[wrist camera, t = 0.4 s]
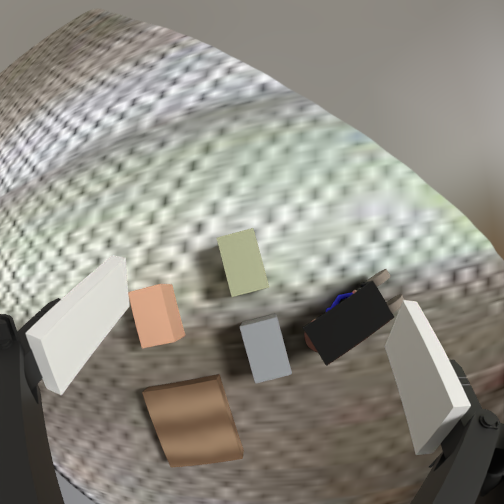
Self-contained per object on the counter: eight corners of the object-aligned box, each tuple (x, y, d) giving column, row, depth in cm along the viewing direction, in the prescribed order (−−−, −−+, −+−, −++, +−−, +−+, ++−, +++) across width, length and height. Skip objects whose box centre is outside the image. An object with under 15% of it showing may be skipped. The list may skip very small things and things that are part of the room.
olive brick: (268, 287, 47) (269, 287, 41) (235, 295, 47) (231, 297, 41) (254, 235, 48) (253, 228, 42) (222, 244, 48) (216, 237, 42)
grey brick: (288, 363, 46) (292, 374, 40) (256, 371, 46) (255, 383, 40) (275, 313, 47) (277, 317, 41) (242, 321, 47) (239, 326, 41)
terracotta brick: (185, 335, 47) (174, 341, 41) (155, 341, 47) (142, 348, 41) (172, 284, 48) (160, 284, 42) (143, 292, 48) (128, 292, 42)
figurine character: (369, 269, 48) (291, 324, 46) (391, 261, 41) (302, 327, 38) (390, 303, 47) (315, 361, 45) (415, 302, 40) (330, 370, 38)
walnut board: (243, 450, 44) (242, 458, 41) (175, 459, 44) (170, 467, 41) (219, 374, 46) (216, 379, 43) (148, 386, 46) (142, 392, 43)
